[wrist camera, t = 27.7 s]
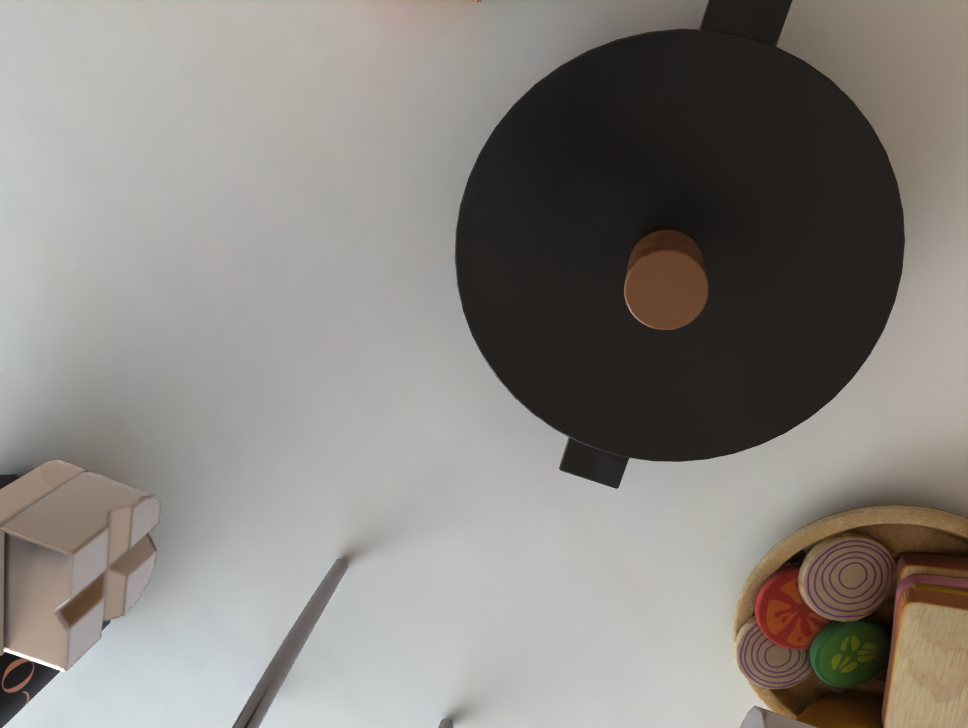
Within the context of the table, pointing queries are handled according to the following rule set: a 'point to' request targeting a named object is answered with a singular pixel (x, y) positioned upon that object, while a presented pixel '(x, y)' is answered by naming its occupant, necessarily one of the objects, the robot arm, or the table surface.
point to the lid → (679, 245)
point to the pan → (731, 8)
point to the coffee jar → (21, 668)
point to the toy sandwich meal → (861, 621)
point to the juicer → (294, 653)
